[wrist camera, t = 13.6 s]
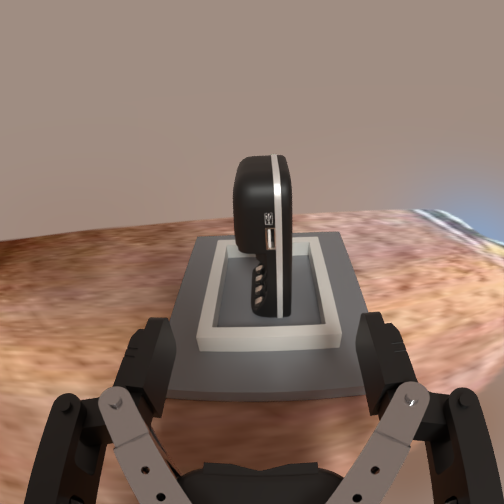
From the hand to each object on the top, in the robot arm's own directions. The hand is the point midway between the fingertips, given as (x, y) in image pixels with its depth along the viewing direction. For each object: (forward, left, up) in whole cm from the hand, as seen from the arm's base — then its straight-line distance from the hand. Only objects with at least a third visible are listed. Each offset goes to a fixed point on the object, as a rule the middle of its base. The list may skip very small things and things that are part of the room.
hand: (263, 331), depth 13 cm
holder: (0, +12, -9) cm, 15 cm away
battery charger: (0, +12, -8) cm, 14 cm away
